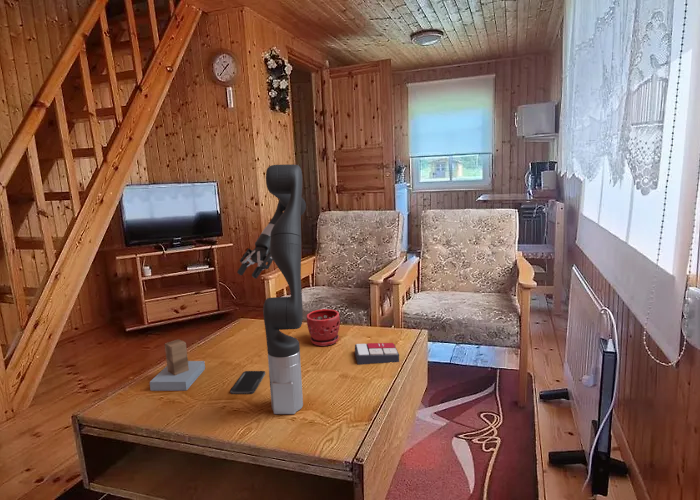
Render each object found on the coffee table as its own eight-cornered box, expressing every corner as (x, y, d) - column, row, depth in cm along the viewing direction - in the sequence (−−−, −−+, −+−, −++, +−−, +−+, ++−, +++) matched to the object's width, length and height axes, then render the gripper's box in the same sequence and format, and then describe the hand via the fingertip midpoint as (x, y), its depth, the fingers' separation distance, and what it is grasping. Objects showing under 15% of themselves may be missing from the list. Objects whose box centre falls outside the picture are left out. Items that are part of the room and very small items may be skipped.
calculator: (399, 353, 161) (357, 353, 160) (399, 364, 162) (357, 365, 161) (394, 341, 172) (354, 342, 171) (393, 352, 173) (354, 353, 172)
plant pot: (310, 336, 190) (308, 309, 188) (341, 336, 189) (340, 308, 187) (305, 348, 177) (304, 319, 175) (339, 348, 176) (338, 318, 174)
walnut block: (188, 370, 154) (185, 342, 153) (174, 375, 151) (171, 347, 149) (181, 366, 158) (178, 339, 156) (167, 371, 154) (164, 343, 152)
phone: (229, 391, 143) (244, 370, 158) (229, 395, 143) (244, 373, 158) (253, 392, 142) (266, 370, 157) (253, 395, 142) (266, 373, 157)
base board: (186, 390, 146) (185, 381, 146) (150, 390, 147) (149, 382, 147) (205, 368, 162) (204, 360, 162) (172, 369, 163) (171, 361, 162)
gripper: (251, 231, 169) (227, 267, 162) (276, 234, 159) (251, 272, 153) (264, 243, 174) (241, 278, 167) (288, 246, 164) (265, 284, 158)
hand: (246, 275), depth 160 cm, fingers open, 8 cm apart
